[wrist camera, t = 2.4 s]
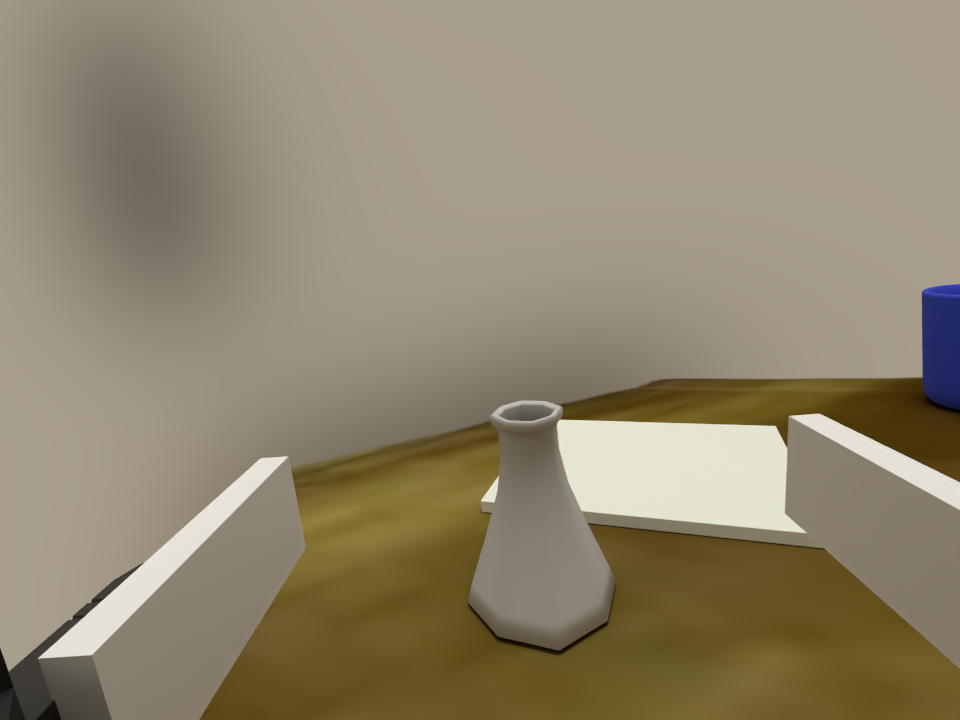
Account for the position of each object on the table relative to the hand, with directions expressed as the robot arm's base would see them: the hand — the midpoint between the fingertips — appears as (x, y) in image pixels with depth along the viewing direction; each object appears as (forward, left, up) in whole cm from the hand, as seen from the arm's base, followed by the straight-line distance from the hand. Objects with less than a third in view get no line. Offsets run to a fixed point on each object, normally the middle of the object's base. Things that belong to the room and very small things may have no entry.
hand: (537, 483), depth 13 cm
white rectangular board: (-1, -24, -11) cm, 27 cm away
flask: (+3, -9, -12) cm, 15 cm away
